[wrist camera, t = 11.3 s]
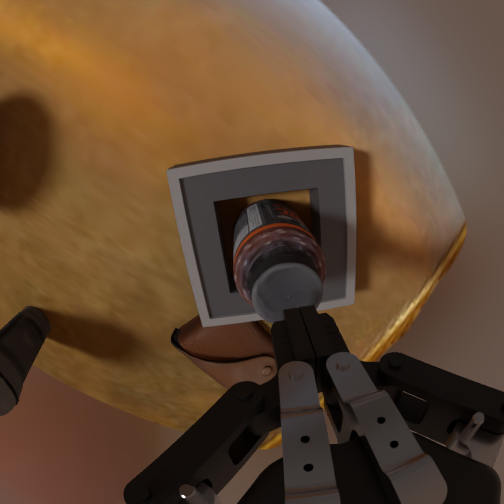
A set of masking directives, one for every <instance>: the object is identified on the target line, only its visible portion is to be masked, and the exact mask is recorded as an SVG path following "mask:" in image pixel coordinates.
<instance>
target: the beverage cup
mask: <svg viewBox="0 0 504 504" xmlns="http://www.w3.org/2000/svg"><path fill="white" fill-rule="evenodd" d="M49 331H50V326H49V322H48V320H47V319H46V317H45V316H44V314H43V313H42V312H41V311H39V310H38V309H37V308H35V307H32V306H27V307H26V308H25V309H24V310H22V311H21V312H19V313H18V314H17V315H16V316H15V317H14V318H13V319H11V320H10V321H9V322H8V323H7V324H6V325H5V326H4V327H3V328H2V329H1V330H0V416H2V415H5V414H7V413H8V412H10V411H11V410H12V409H13V407H14V406H15V405H17V404H18V401H19V396H20V393H21V390H22V386H23V383H24V381H25V378H26V376H27V374H28V372H29V370H30V368H31V366H32V364H33V362H34V360H35V358H36V356H37V354H38V352H39V350H40V349H41V347H42V345H43V343H44V341H45V339H46V336H47V334H48V333H49Z"/></svg>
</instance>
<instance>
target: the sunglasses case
mask: <svg viewBox="0 0 504 504" xmlns="http://www.w3.org/2000/svg"><path fill="white" fill-rule="evenodd" d="M171 343H172V345H173V346H174V347H175V348H176V349H177V350H179V351H180V352H182V353H183V354H184V355H185V356H186V357H188V358H189V359H190V360H191V361H192V362H193V363H194V364H195V365H197V366H198V367H199V368H200V369H202V370H203V371H204V372H205V373H207V374H208V375H209V376H210V377H212V378H213V379H214V380H216V381H217V382H218V383H220V384H221V385H222V386H224V387H225V388H227V389H229V388H230V387H231V386H233V385H234V384H236V383H238V382H242V381H252V382H255V383H257V384H259V385H260V384H263V383H265V382H267V381H269V380H271V379H272V378H273V377H274V376H275V375H276V373H277V368H276V363H275V357H274V351H273V343H272V337H271V336H270V335H269V334H268V333H267V332H266V331H265V330H264V329H263V328H262V327H261V326H260V325H259V324H258V323H257V322H256V321H250V322H243V323H235V324H227V325H219V326H210V327H203V326H202V322H201V319H200V315H198V316H196V317H195V318H193V319H192V320H190V321H189V322H187V323H186V324H184V325H183V326H182V327H180V329H177V328H175V330H174V331H173V333H172V336H171Z"/></svg>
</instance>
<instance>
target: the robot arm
mask: <svg viewBox="0 0 504 504" xmlns="http://www.w3.org/2000/svg"><path fill="white" fill-rule="evenodd" d="M283 318H284V320H281V321H275V322H274V323H273V325H272V327H271V335H272V343H273V351H274V357H275V363H276V368H277V373H276V375H275V376H274V377H273V378H272V379H271V380H269V381H267V382H265V383H263V384H260V385H259V384H257V383H255V382H252V381H242V382H238V383H236V384H234V385H233V386H231V387H230V388H229V389H228V390H227V392H226V393H225V394H224V395H223V396H222V397H221V398H220V399H219V400H218V401H217V402H216V403H215V404H214V405H213V406H212V407H211V408H210V409H209V410H208V411H207V412H206V413H205V414H204V415H203V416H202V417H201V418H200V419H199V420H198V421H197V422H196V423H195V424H194V425H192V426H191V427H190V428H189V429H188V430H187V431H186V432H185V433H184V434H183V435H182V436H181V437H180V438H179V439H178V440H177V441H176V442H175V443H173V444H172V445H171V446H170V447H169V448H168V449H167V450H166V451H165V452H164V453H162V454H161V455H160V456H159V457H158V458H157V459H156V460H155V461H154V462H152V463H151V464H150V465H149V466H148V467H147V468H146V469H144V470H143V471H142V472H141V473H140V474H139V475H137V476H136V477H135V478H134V479H133V480H131V481H130V482H129V483H128V484H127V485H126V487H125V489H124V500H125V502H126V504H222V503H221V500H220V499H219V497H218V496H217V494H218V493H219V492H220V491H221V490H222V489H223V488H224V487H225V486H226V484H227V483H228V482H229V481H230V480H231V479H232V478H233V477H234V476H235V474H236V473H237V472H238V471H239V470H240V469H241V468H242V466H243V465H244V464H245V463H246V461H248V459H249V458H250V457H251V455H253V453H254V452H255V451H256V450H257V449H258V447H259V446H260V445H261V444H262V442H263V441H264V440H265V439H266V437H267V436H268V434H269V432H270V431H272V430H275V429H277V428H279V427H281V430H282V447H283V457H282V458H280V459H279V460H277V461H275V462H273V463H272V464H271V465H269V466H268V467H267V468H266V469H265V470H264V471H263V472H262V473H261V474H260V475H259V476H258V478H257V479H256V480H255V482H254V483H253V484H252V486H251V487H250V488H249V489H248V491H247V492H246V493H245V494H244V496H243V497H242V498H241V499H240V501H239V502H238V503H237V504H500V497H501V482H500V478H499V476H498V474H497V473H496V471H495V470H494V469H493V466H494V463H495V461H496V458H497V455H498V452H499V450H500V447H501V444H502V441H503V438H504V392H502V391H500V390H497V389H494V388H491V387H488V386H486V385H483V384H480V383H477V382H474V381H472V380H469V379H467V378H464V377H461V376H458V375H456V374H453V373H451V372H448V371H445V370H443V369H440V368H437V367H435V366H432V365H430V364H427V363H424V362H422V361H420V360H417V359H414V358H412V357H409V356H407V355H405V354H402V353H398V352H392V353H388V354H385V355H384V356H383V357H382V358H381V359H380V362H365V361H360V360H359V359H358V358H357V357H356V356H355V355H354V354H351V353H350V352H349V350H348V348H347V346H346V344H345V342H344V339H343V337H342V335H341V333H340V332H339V329H338V327H337V325H336V323H335V321H334V319H333V318H332V317H331V316H330V315H328V314H327V313H322V314H318V312H317V310H316V308H315V306H314V305H308V306H302V307H299V308H298V307H297V308H291V309H284V310H283ZM403 391H405V392H407V393H409V394H412V395H414V396H416V397H419V398H421V399H423V400H425V401H423V400H421V399H418V398H416V397H414V396H412V395H409V394H407V393H405V392H403ZM320 392H323V396H324V407H325V410H326V412H327V415H328V417H329V420H330V422H331V425H332V427H333V429H334V432H335V435H336V437H337V442H338V444H329V439H328V433H327V428H326V422H325V417H324V412H323V409H322V407H320V403H319V398H318V393H320ZM426 401H427V402H426ZM410 430H412V431H415V432H417V433H419V434H421V435H424V436H426V437H428V438H430V439H433V440H435V441H437V442H440V443H442V444H444V445H446V447H444V446H442V445H440V444H438V443H436V442H434V441H431V440H429V439H427V438H425V437H423V436H421V435H419V434H417V433H414V432H411V431H410Z"/></svg>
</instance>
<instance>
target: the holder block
mask: <svg viewBox="0 0 504 504" xmlns="http://www.w3.org/2000/svg"><path fill="white" fill-rule="evenodd" d="M166 171H167V176H168V182H169V187H170V192H171V197H172V202H173V207H174V212H175V216H176V221H177V226H178V230H179V235H180V239H181V244H182V248H183V252H184V256H185V261H186V265H187V269H188V273H189V277H190V281H191V285H192V289H193V293H194V296H195V300H196V304H197V308H198V311H199V315H200V319H201V322H202V326H203V327H210V326H219V325H227V324H235V323H243V322H250V321H257V320H264V319H263V318H261V317H260V316H259V315H258V314H257V312H256V311H255V309H254V307H253V306H252V305H250V304H249V303H248V302H246V301H245V299H244V298H243V297H242V296H241V294H240V293H239V291H238V289H237V287H236V284H235V280H234V277H230V273H229V268H228V262H227V256H226V251H225V245H224V240H223V234H222V228H221V222H220V217H219V211H218V205H217V201H220V200H226V199H233V198H240V197H247V196H254V195H261V194H269V193H277V192H285V191H293V190H302V189H309V192H310V205H311V220H312V235H313V236H314V238H315V239H316V241H317V242H318V244H319V245H320V247H321V249H322V251H323V254H324V257H325V261H326V275H325V279H324V282H323V296H322V300H321V302H320V304H319V306H318V308H317V309H316V310H317V311H319V310H325V309H330V308H336V307H341V306H346V305H351V304H354V296H355V275H356V188H355V167H354V151H353V147H350V146H344V145H324V146H311V147H299V148H288V149H278V150H269V151H261V152H253V153H245V154H238V155H231V156H225V157H218V158H212V159H206V160H200V161H195V162H189V163H184V164H179V165H174V166H173V167H171V168H169V169H167V170H166Z"/></svg>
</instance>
